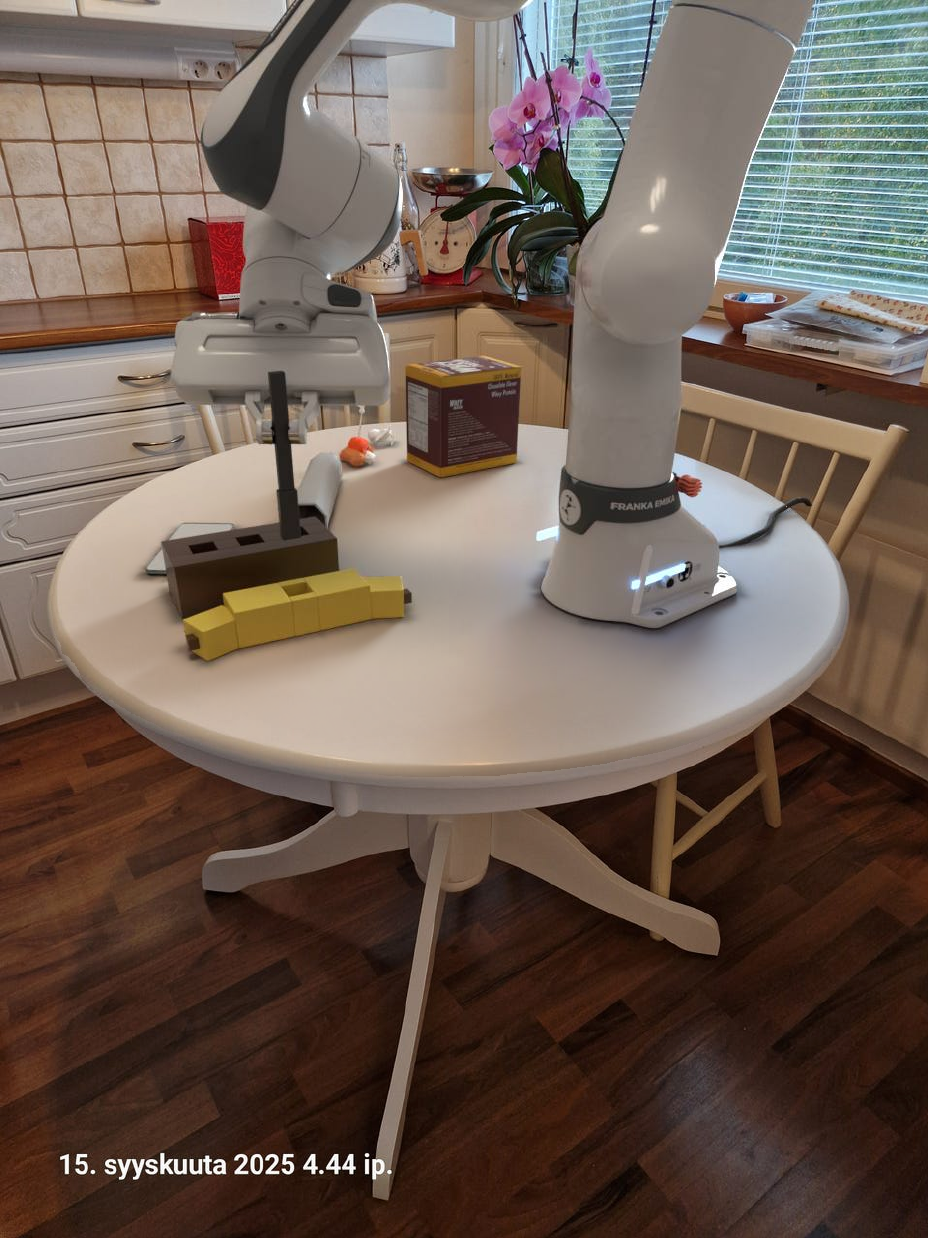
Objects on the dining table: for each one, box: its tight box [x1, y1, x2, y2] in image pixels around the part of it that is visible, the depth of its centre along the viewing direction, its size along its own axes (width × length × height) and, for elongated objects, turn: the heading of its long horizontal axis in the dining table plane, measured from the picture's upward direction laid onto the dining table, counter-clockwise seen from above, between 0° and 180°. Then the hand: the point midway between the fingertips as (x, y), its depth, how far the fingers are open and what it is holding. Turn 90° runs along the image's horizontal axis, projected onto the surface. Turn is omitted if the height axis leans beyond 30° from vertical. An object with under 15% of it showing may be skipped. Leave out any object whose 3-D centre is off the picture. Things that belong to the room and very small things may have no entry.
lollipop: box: [339, 406, 376, 467], centre depth 132 cm, size 6×10×12 cm, turn 177°
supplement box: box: [404, 355, 522, 478], centre depth 131 cm, size 10×15×16 cm
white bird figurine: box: [367, 422, 397, 447], centre depth 142 cm, size 8×5×5 cm, turn 177°
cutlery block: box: [160, 517, 340, 620], centre depth 90 cm, size 7×17×6 cm, turn 118°
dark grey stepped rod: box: [268, 371, 301, 541], centre depth 77 cm, size 2×1×16 cm, turn 118°
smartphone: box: [144, 522, 235, 575], centre depth 101 cm, size 7×1×15 cm
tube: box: [297, 452, 343, 530], centre depth 114 cm, size 5×5×25 cm
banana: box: [182, 567, 413, 662], centre depth 84 cm, size 6×23×4 cm, turn 118°
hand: (281, 441), depth 75 cm, fingers closed on dark grey stepped rod, 1 cm apart
